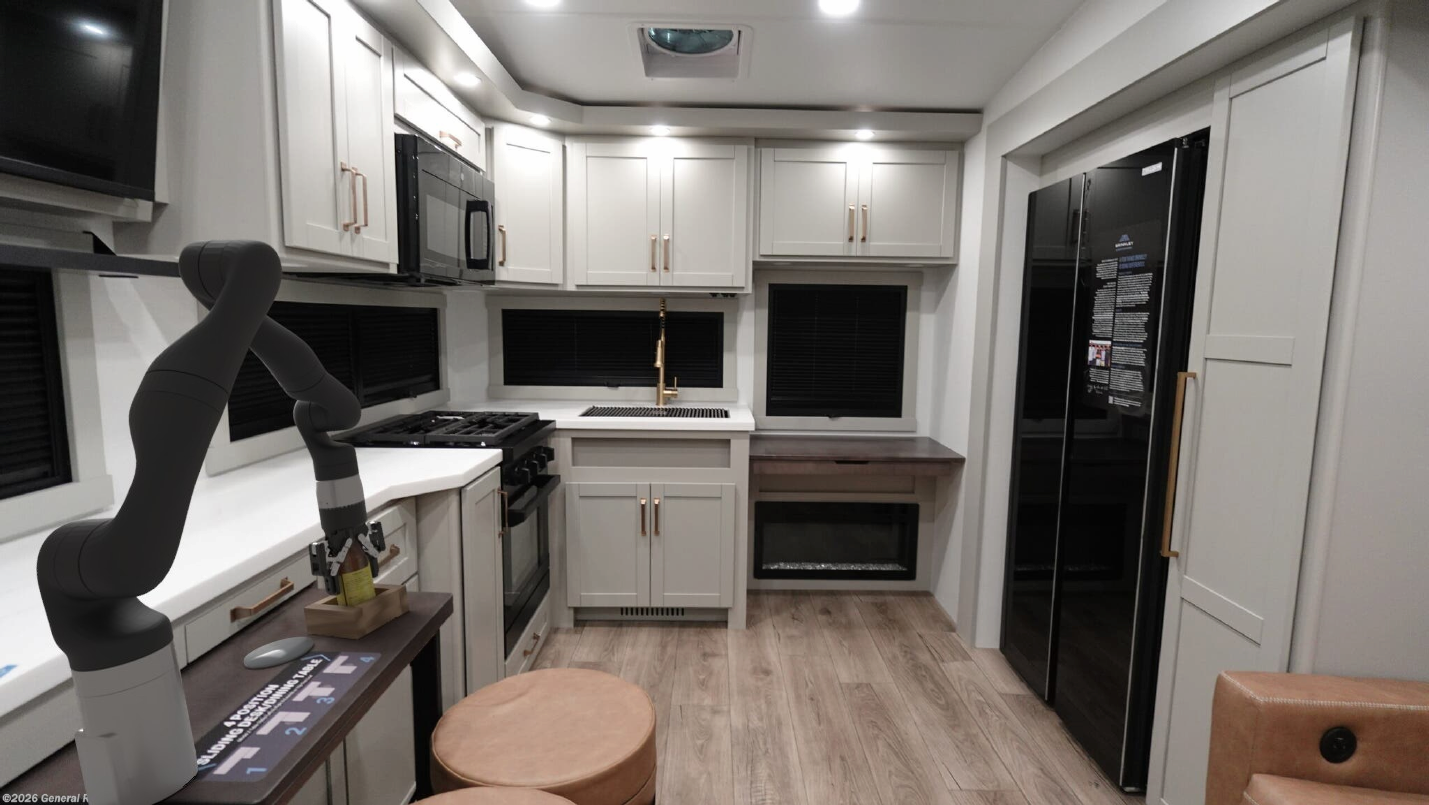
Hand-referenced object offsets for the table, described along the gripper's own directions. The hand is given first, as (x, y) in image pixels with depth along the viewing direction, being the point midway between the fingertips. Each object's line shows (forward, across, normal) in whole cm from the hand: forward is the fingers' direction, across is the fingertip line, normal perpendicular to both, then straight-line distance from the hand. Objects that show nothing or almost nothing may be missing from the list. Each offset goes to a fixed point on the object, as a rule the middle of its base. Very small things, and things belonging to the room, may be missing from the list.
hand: (354, 585), depth 125 cm
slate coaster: (+7, -13, +4) cm, 15 cm away
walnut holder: (+7, 0, 0) cm, 7 cm away
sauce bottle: (+7, 0, 0) cm, 7 cm away
